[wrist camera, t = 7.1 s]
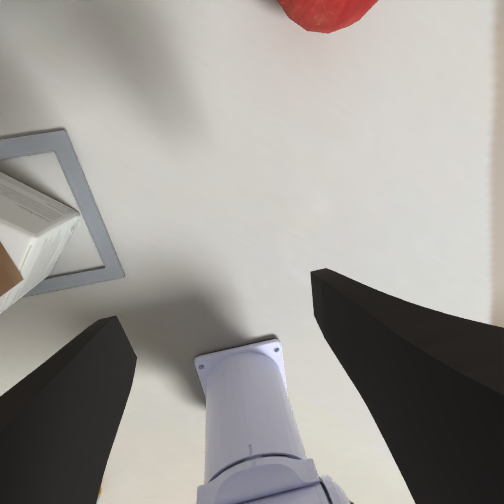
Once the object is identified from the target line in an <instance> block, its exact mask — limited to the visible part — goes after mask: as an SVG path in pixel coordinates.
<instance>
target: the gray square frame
mask: <svg viewBox="0 0 504 504" xmlns="http://www.w3.org/2000/svg"><path fill="white" fill-rule="evenodd" d="M53 151H55V153H56V156H57V158H58V160H59V163H60V165H61V167H62V169H63V172H64V174H65V176H66V179H67V181H68V183H69V185H70V188H71V190H72V192H73V195H74V197H75V199H76V201H77V204H78V206H79V208H80V211H81V213H82V215H83V218H84V220H85V222H86V224H87V227H88V229H89V231H90V234H91V236H92V238H93V240H94V243H95V245H96V247H97V250H98V252H99V254H100V256H101V259H102V261H103V263H104V266H105V267H104V268H99V269H94V270H89V271H83V272H78V273H73V274H68V275H63V276H57V277H52V278H47V279H43V280H42V281H41V282H40V283H38V284H37V285H36V286H35V287H34V288H32V289H31V290H30V291H28V292H27V293H26V294H25V295H24V296H22V297H27V296H32V295H37V294H42V293H47V292H52V291H57V290H62V289H68V288H73V287H78V286H83V285H88V284H93V283H98V282H103V281H108V280H114V279H119V278H124V277H125V274H124V272H123V269H122V267H121V264H120V262H119V259H118V257H117V254H116V252H115V249H114V247H113V245H112V242H111V240H110V237H109V235H108V232H107V230H106V227H105V225H104V222H103V220H102V217H101V215H100V213H99V210H98V208H97V205H96V203H95V200H94V198H93V195H92V193H91V190H90V188H89V185H88V183H87V181H86V178H85V176H84V173H83V171H82V168H81V166H80V163H79V161H78V158H77V156H76V153H75V151H74V148H73V146H72V144H71V141H70V139H69V136H68V134H67V131H66V130H61V131H55V132H48V133H41V134H35V135H28V136H21V137H15V138H8V139H1V140H0V160H2V159H8V158H14V157H21V156H27V155H34V154H40V153H47V152H53ZM22 297H21V298H22Z"/></svg>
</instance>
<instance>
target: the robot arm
mask: <svg viewBox="0 0 504 504" xmlns="http://www.w3.org/2000/svg"><path fill="white" fill-rule="evenodd" d="M310 273H311V285H312V296H313V308H314V316H315V318H316V321H317V323H318V325H319V327H320V329H321V331H322V333H323V335H324V338H325V339H326V341H327V343H328V344H329V346H330V347H331V349H332V351H333V352H334V354H335V355H336V357H337V359H338V360H339V362H340V363H341V365H342V366H343V368H344V369H345V371H346V373H347V374H348V376H349V377H350V379H351V380H352V382H353V384H354V385H355V387H356V388H357V390H358V391H359V393H360V395H361V397H362V398H363V400H364V402H365V403H366V405H367V407H368V409H369V411H370V413H371V415H372V417H373V418H374V420H375V422H376V424H377V426H378V428H379V430H380V432H381V434H382V436H383V438H384V440H385V442H386V444H387V446H388V448H389V450H390V452H391V454H392V456H393V458H394V460H395V462H396V464H397V466H398V468H399V470H400V472H401V474H402V476H403V478H404V480H405V482H406V484H407V487H408V489H409V491H410V493H411V495H412V497H413V499H414V501H415V503H416V504H504V328H502V327H497V326H493V325H489V324H485V323H481V322H476V321H472V320H468V319H464V318H460V317H456V316H452V315H449V314H445V313H442V312H439V311H435V310H432V309H429V308H425V307H422V306H419V305H416V304H413V303H410V302H407V301H404V300H402V299H399V298H396V297H393V296H391V295H388V294H386V293H383V292H381V291H378V290H376V289H373V288H371V287H369V286H366V285H364V284H362V283H359V282H357V281H355V280H353V279H350V278H348V277H346V276H344V275H341V274H339V273H337V272H335V271H332V270H330V269H327V268H325V269H320V270H316V271H311V272H310ZM275 348H277V349H275ZM136 360H137V357H136V355H135V353H134V351H133V349H132V347H131V344H130V342H129V340H128V338H127V336H126V334H125V332H124V330H123V328H122V326H121V324H120V322H119V320H118V318H117V316H113V317H109V318H104V319H100V320H98V321H96V322H95V323H93V324H92V325H91V326H89V327H88V328H87V329H85V330H84V331H83V332H81V333H80V334H79V335H78V336H76V337H75V338H74V339H73V340H71V341H70V342H69V343H68V344H66V345H65V346H64V347H63V348H61V349H60V350H59V351H58V352H57V353H55V354H54V355H53V356H52V357H50V358H49V359H48V360H47V361H45V362H44V363H43V364H42V365H40V366H39V367H38V368H37V369H35V370H34V371H33V372H32V373H30V374H29V375H28V376H26V377H25V378H24V379H22V380H21V381H20V382H19V383H17V384H16V385H15V386H13V387H12V388H11V389H9V390H8V391H7V392H6V393H4V394H3V395H2V396H0V504H96V503H97V499H98V495H99V491H100V486H101V482H102V478H103V474H104V471H105V468H106V464H107V461H108V457H109V454H110V451H111V448H112V445H113V442H114V439H115V436H116V433H117V430H118V427H119V424H120V421H121V418H122V415H123V412H124V409H125V406H126V403H127V400H128V396H129V393H130V390H131V387H132V382H133V378H134V373H135V367H136ZM194 363H195V367H196V370H197V373H198V376H199V379H200V382H201V385H202V388H203V391H204V394H205V397H206V433H205V478H204V485H200V486H198V487H197V504H350V502H349V500H348V498H347V496H346V494H345V493H344V491H343V490H342V488H341V487H340V486H339V485H338V484H336V483H335V482H334V481H333V480H332V479H331V478H330V477H329V476H328V475H324V476H320V477H318V474H317V471H316V468H315V464H314V461H313V459H311V458H310V459H307V457H306V454H305V450H304V447H303V444H302V440H301V437H300V434H299V430H298V427H297V424H296V421H295V417H294V414H293V411H292V407H291V404H290V401H289V398H288V393H287V385H286V377H285V370H284V362H283V354H282V347H281V342H280V340H279V339H273V340H268V341H264V342H259V343H255V344H250V345H246V346H241V347H237V348H232V349H228V350H223V351H219V352H214V353H210V354H206V355H201V356H198V357H196V358H195V362H194ZM200 365H203V366H200Z"/></svg>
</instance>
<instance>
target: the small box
mask: <svg viewBox="0 0 504 504" xmlns="http://www.w3.org/2000/svg"><path fill="white" fill-rule="evenodd" d="M79 217H80V213H79V212H77V211H76V210H74V209H72V208H70V207H68V206H66V205H64V204H62V203H60V202H58V201H56V200H54V199H52V198H51V197H49V196H47V195H45V194H43V193H41V192H39V191H37V190H35V189H33V188H31V187H29V186H27V185H25V184H23V183H21V182H19V181H17V180H15V179H14V178H12V177H10V176H8V175H6V174H4V173H2V172H0V242H1V243H2V245H3V246H4V248H5V250H6V251H7V253H8V254H9V256H10V258H11V259H12V261H13V263H14V264H15V266H16V267H17V269H18V271H19V272H20V274H21V275H22V277H23V279H24V280H23V281H21V282H20V283H18V284H17V285H16V286H14V287H13V288H12V289H10V290H9V291H8V292H6V293H5V294H4V295H2V296H1V297H0V314H1V313H2V312H3V311H5V310H6V309H7V308H9V307H10V306H11V305H12V304H14V303H15V302H16V301H17V300H19V299H20V298H21V297H22V296H24V295H25V294H26V293H27V292H28V291H30V290H31V289H32V288H34V287H35V286H36V285H37V284H38V283H40V282H41V281H42V280H43V279H45V278H46V277H47V276H48V275H50V273H51V271H52V269H53V267H54V266H55V264H56V262H57V260H58V258H59V256H60V254H61V252H62V250H63V248H64V246H65V245H66V243H67V241H68V239H69V237H70V235H71V233H72V231H73V229H74V227H75V225H76V223H77V221H78V219H79Z"/></svg>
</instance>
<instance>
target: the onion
mask: <svg viewBox="0 0 504 504" xmlns="http://www.w3.org/2000/svg"><path fill="white" fill-rule="evenodd" d="M377 1H378V0H278V2H279V3H280V5H281V6H282V8H283V9H284V11H285V13H286V14H287V16H288V17H289V18H290V19H291V20H293V21H294V22H295V23H297V24H298V25H300V26H301V27H302V28H304V29H305V30H307V31H313V32H321V33H331V32H333V31H336V30H339V29H342V28H345V27H348V26H350V25H352V24H353V23H355V22H357V21H358V20H360V19H361V18H362V17H363V16H364V15H365V14H366V12H367V11H368V10H369V9H370V8H371V7H372V6H373V5H374V4H375V3H376V2H377Z"/></svg>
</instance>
